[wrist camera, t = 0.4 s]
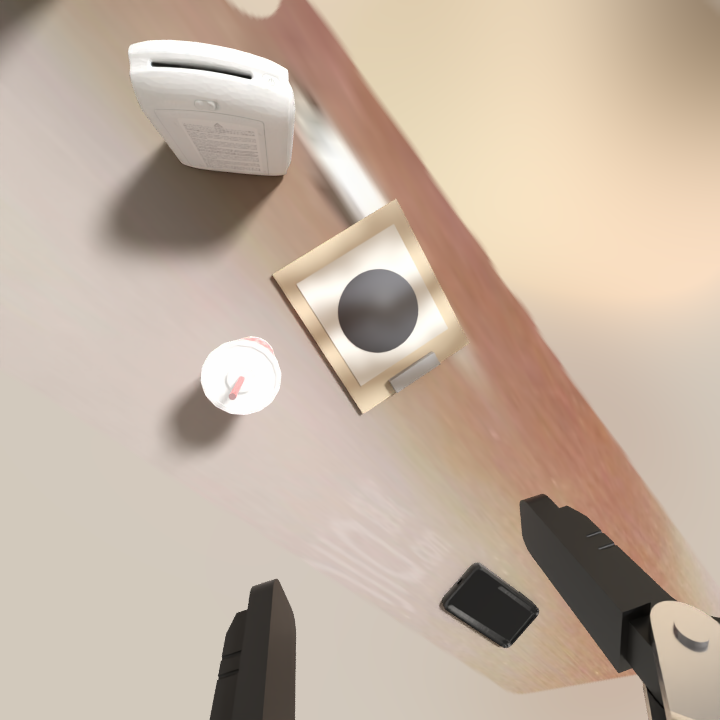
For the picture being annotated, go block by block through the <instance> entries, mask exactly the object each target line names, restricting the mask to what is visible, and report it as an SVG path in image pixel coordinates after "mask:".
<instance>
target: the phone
mask: <svg viewBox="0 0 720 720" xmlns="http://www.w3.org/2000/svg"><path fill="white" fill-rule="evenodd" d="M468 571H469V572H468ZM461 579H463V580H462V581H461V582H460V583H459V584H458V582H459V581H460V580H461ZM442 603H443V605H444V607H445V609H446V610H447V611H448V612H450V613H451V614H453V615H454V616H456V617H457V618H459V619H460V620H462V621H464V622H465V623H467V624H468V625H470V626H471V627H473V628H474V629H476V630H477V631H479V632H480V633H482V634H483V635H485V636H486V637H488V638H489V639H491V640H492V641H494V642H496V643H497V644H499V645H500V646H502V647H504V648H508V647H510V646H511V645H512V644H513V643H514V642H515V641H516V640H517V639H518V637H519V636H520V635H521V634H522V633H523V632H524V631H525V630H526V628H527V627H528V626H529V625H530V624H531V623H532V622H533V620H534V619H535V618H536V617H537V616H538V614H539V609H538V608H537V607H536V605H535V604H534V603H533V602H532V601H531V600H529V599H528V598H527V597H525V596H524V595H523V594H522V593H520V592H518V591H517V590H515V589H514V588H513V587H511V586H510V585H509V584H507V583H506V582H505V581H503V580H502V579H501V578H499V577H498V576H497V575H495V574H494V573H493V572H491V571H490V570H489V569H487V568H486V567H485V566H483V565H482V564H481V563H474V564H472V565H471V566H470V567H469V568H468V570H467V571H466V572H465V573H464V574H463V575H462V576H461V578H460V579H459V580H458V581H457V582H456V583H455V584H454V586H453V587H452V588H451V589H450V590H449V591H448V592H447V593H446V595H445V596H444V597H443V600H442Z"/></svg>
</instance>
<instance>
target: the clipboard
mask: <svg viewBox="0 0 720 720" xmlns="http://www.w3.org/2000/svg"><path fill="white" fill-rule="evenodd" d="M272 275H273V276H274V278H275V280H276V281H277V283H278V284H279V286H280V287H281V289H282V290H283V292H284V293H285V295H286V296H287V298H288V300H289V301H290V303H291V304H292V306H293V307H294V309H295V310H296V312H297V313H298V315H299V316H300V318H301V319H302V321H303V323H304V324H305V326H306V327H307V329H308V330H309V332H310V333H311V335H312V336H313V338H314V339H315V341H316V343H317V344H318V346H319V347H320V349H321V350H322V352H323V353H324V355H325V356H326V358H327V359H328V361H329V362H330V364H331V366H332V367H333V369H334V370H335V372H336V373H337V375H338V376H339V378H340V379H341V381H342V382H343V384H344V386H345V387H346V389H347V390H348V392H349V393H350V395H351V396H352V398H353V399H354V401H355V402H356V404H357V406H358V407H359V409H360V410H361V412H362V413H363V414H364V413H366V412H367V411H369V410H370V409H372V408H373V407H375V406H376V405H378V404H379V403H381V402H382V401H384V400H385V399H387V398H388V397H390V396H391V395H393V394H394V393H396V392H397V393H398V392H399V391H401V390H402V389H404V388H405V387H407V386H408V385H410V384H411V383H413V382H414V381H416V380H417V379H419V378H420V377H422V376H423V375H425V374H426V373H428V372H429V371H431V370H432V369H434V368H435V367H437V366H438V365H440V363H441V362H442V361H444V360H445V359H447V358H448V357H450V356H451V355H453V354H454V353H456V352H457V351H459V350H460V349H462V348H463V347H465V346H466V345H468V344H469V341H468V339H467V337H466V336H465V334H464V332H463V330H462V328H461V326H460V324H459V322H458V320H457V318H456V316H455V314H454V312H453V310H452V308H451V306H450V304H449V302H448V300H447V298H446V296H445V294H444V292H443V290H442V288H441V286H440V284H439V282H438V280H437V278H436V276H435V274H434V272H433V270H432V268H431V266H430V264H429V262H428V260H427V258H426V256H425V254H424V252H423V251H422V249H421V247H420V245H419V243H418V241H417V239H416V237H415V235H414V233H413V231H412V229H411V227H410V225H409V223H408V221H407V219H406V217H405V215H404V213H403V211H402V209H401V207H400V205H399V203H398V201H397V199H395V200H393V201H392V202H390V203H388V204H387V205H385V206H383V207H382V208H380V209H379V210H377V211H375V212H374V213H372V214H370V215H369V216H367V217H365V218H364V219H362V220H361V221H359V222H357V223H356V224H354V225H352V226H351V227H349V228H347V229H346V230H344V231H343V232H341V233H339V234H338V235H336V236H334V237H333V238H331V239H330V240H328V241H326V242H325V243H323V244H321V245H320V246H318V247H316V248H315V249H313V250H312V251H310V252H308V253H307V254H305V255H303V256H302V257H300V258H298V259H297V260H295V261H294V262H292V263H290V264H289V265H287V266H285V267H284V268H282V269H281V270H279V271H277V272H276V273H274V274H272Z"/></svg>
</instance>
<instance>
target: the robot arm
mask: <svg viewBox="0 0 720 720" xmlns="http://www.w3.org/2000/svg"><path fill="white" fill-rule="evenodd" d="M520 515H521V527H522V536H523V539H524V542H525V545H526V547H527V549H528V551H529V552H530V554H531V555H532V557H533V558H534V560H535V561H536V562H537V564H538V565H539V566H540V568H541V569H542V570H543V572H544V573H545V574H546V576H547V577H548V578H549V580H550V581H551V583H552V584H553V585H554V587H555V588H556V589H557V591H558V592H559V593H560V595H561V596H562V597H563V599H564V600H565V601H566V603H567V604H568V606H569V607H570V608H571V610H572V611H573V612H574V614H575V615H576V616H577V618H578V619H579V620H580V622H581V623H582V624H583V626H584V627H585V628H586V630H587V631H588V633H589V634H590V635H591V637H592V638H593V639H594V641H595V642H596V643H597V645H598V646H599V647H600V649H601V650H602V651H603V653H604V654H605V655H606V657H607V658H608V660H609V661H610V662H611V664H612V665H613V666H614V668H615V669H616V670H617V672H618V673H620V672H623V671H626V670H628V669H631V668H633V670H634V671H635V672H636V674H637V675H638V676H639V677H640V679H641V680H642V681H643V690H644V696H645V701H646V707H647V713H648V719H649V720H720V618H718V617H713V616H709V615H708V614H706V613H705V612H703V611H701V610H699V609H698V608H696V607H693V606H691V605H689V604H685V603H682V602H678V601H676V600H675V599H674V598H672V597H671V596H670V595H669V594H668V593H666V592H665V591H664V590H663V589H662V588H661V587H660V586H659V585H658V584H657V583H656V582H655V581H654V580H653V579H652V578H651V577H650V576H648V575H647V574H646V573H645V572H644V571H643V570H642V569H641V568H640V567H639V566H638V565H637V564H636V563H635V562H634V561H633V560H632V559H631V558H630V557H629V556H628V555H626V554H625V553H624V552H623V551H622V550H621V549H620V548H619V547H618V546H617V545H615V544H614V542H613V541H612V540H611V539H610V538H609V537H608V536H607V535H605V534H604V533H602V532H601V530H600V529H599V528H598V527H597V526H596V525H595V524H594V523H593V522H592V521H591V520H590V519H589V518H588V517H587V516H585V515H583V514H582V513H580V512H578V511H576V510H574V509H572V508H571V507H569V506H565V507H561V508H559V507H558V506H557V505H556V504H555V503H554V502H553V501H552V500H551V499H550V498H549V497H548V496H546V495H545V494H540V495H537V496H534V497H531V498H528V499H525V500H521V501H520ZM295 661H296V627H295V619H294V614H293V611H292V609H291V606H290V604H289V602H288V600H287V597H286V595H285V593H284V591H283V589H282V586H281V584H280V582H279V580H278V579H274V580H271V581H268V582H265V583H262V584H259V585H256V586H253V587H252V588H251V591H250V597H249V604H248V609H247V610H244V611H241V612H238V613H237V614H236V616H235V617H234V620H233V622H232V623H231V625H230V627H229V630H228V631H227V633H226V637H225V643H224V648H223V653H222V661H221V664H220V669H219V674H218V677H219V679H218V680H217V685H216V689H215V695H214V700H213V705H212V710H211V716H210V720H295V669H296V662H295Z"/></svg>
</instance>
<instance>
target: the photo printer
mask: <svg viewBox="0 0 720 720" xmlns="http://www.w3.org/2000/svg"><path fill="white" fill-rule="evenodd" d="M128 56H129V61H130V78H131V82H132V86H133V89H134V92H135V95H136V97H137V100H138V102H139V105H140V107H141V109H142V111H143V112H144V114H145V115H146V116H147V118H148V119H149V120H150V122H151V123H152V124H153V126H154V127H155V128H156V130H157V131H158V132H159V133H160V135H161V136H162V137H163V139H164V140H165V142H166V143H167V144H168V146H169V147H170V148H171V150H172V151H173V152H174V154H175V155H176V156H177V158H178V159H179V160H180V162H181V163H182V164H185V165H187V166H191V167H194V168H199V169H206V170H213V171H223V172H232V173H243V174H254V175H269V176H278V175H285V174H286V173H287V169H288V167H289V165H290V163H291V156H292V145H293V133H294V119H295V101H294V94H293V90H292V88H291V85H290V83H289V82H288V70H287V69H285V68H284V67H282V66H280V65H278V64H276V63H274V62H272V61H270V60H268V59H265V58H262V57H259V56H256V55H253V54H250V53H246V52H242V51H239V50H235V49H230V48H226V47H221V46H216V45H210V44H204V43H198V42H189V41H177V40H151V41H144V42H139V43H135V44H132V45H130V47H129V50H128Z"/></svg>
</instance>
